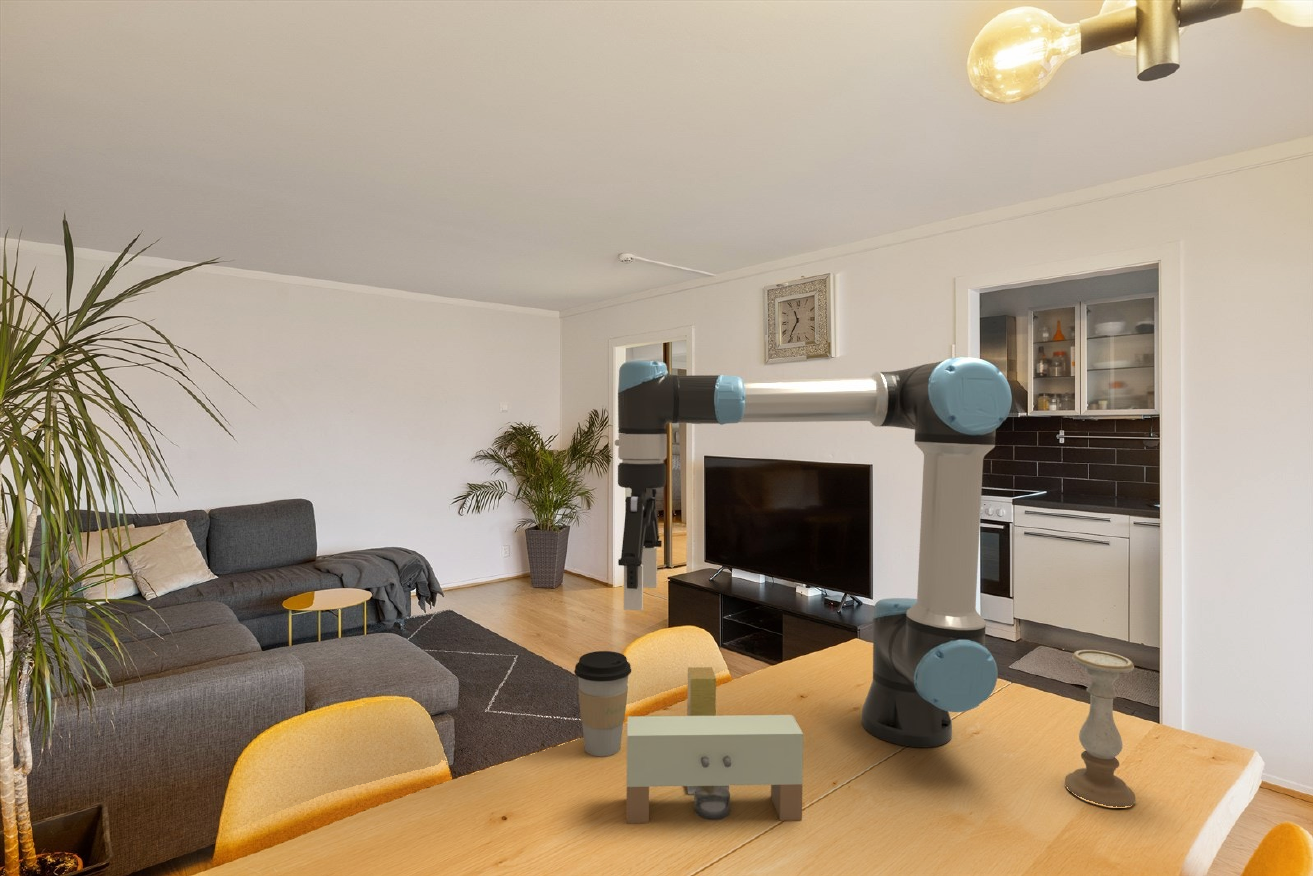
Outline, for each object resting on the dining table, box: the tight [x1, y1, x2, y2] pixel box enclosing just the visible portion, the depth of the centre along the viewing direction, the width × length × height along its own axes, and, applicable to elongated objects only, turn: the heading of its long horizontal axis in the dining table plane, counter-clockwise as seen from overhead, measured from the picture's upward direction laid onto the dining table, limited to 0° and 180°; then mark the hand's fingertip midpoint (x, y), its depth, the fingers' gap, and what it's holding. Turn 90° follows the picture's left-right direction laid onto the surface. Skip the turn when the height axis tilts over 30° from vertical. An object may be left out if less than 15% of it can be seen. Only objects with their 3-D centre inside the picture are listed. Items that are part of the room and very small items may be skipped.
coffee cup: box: [573, 650, 632, 758], centre depth 114 cm, size 9×9×15 cm
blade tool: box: [686, 666, 730, 795], centre depth 107 cm, size 6×13×14 cm, turn 3°
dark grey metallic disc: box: [693, 786, 731, 821], centre depth 96 cm, size 5×5×2 cm
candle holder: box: [1064, 649, 1136, 807], centre depth 101 cm, size 9×9×20 cm
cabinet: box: [626, 714, 804, 824], centre depth 96 cm, size 24×7×12 cm, turn 93°
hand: (641, 597), depth 107 cm, fingers open, 13 cm apart
